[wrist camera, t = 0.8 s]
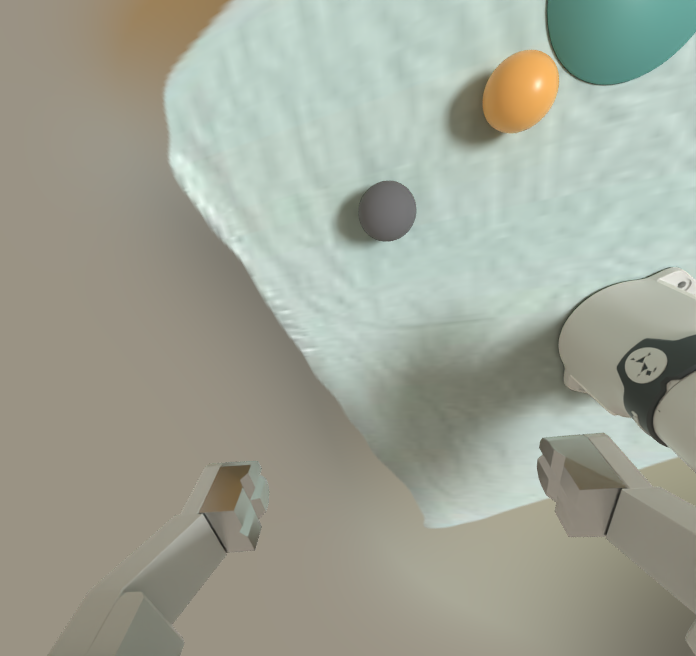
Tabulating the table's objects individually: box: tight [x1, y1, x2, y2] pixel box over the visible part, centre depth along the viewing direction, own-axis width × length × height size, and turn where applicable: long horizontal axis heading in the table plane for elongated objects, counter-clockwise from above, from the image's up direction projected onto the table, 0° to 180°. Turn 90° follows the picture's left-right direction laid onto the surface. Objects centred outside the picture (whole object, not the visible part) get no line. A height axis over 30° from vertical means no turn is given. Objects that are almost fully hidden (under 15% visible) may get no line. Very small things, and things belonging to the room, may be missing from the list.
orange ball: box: [483, 50, 559, 133], centre depth 29 cm, size 6×6×6 cm
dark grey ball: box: [359, 181, 416, 242], centre depth 34 cm, size 6×6×6 cm
